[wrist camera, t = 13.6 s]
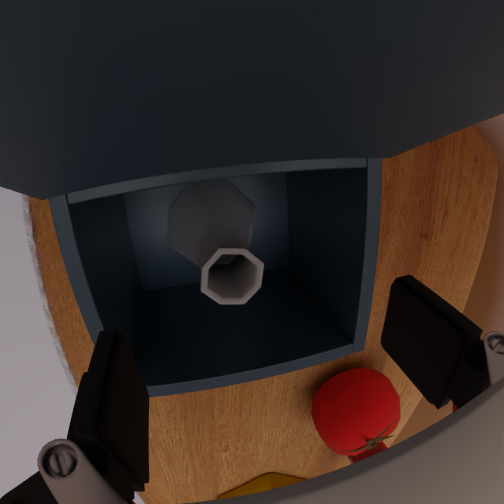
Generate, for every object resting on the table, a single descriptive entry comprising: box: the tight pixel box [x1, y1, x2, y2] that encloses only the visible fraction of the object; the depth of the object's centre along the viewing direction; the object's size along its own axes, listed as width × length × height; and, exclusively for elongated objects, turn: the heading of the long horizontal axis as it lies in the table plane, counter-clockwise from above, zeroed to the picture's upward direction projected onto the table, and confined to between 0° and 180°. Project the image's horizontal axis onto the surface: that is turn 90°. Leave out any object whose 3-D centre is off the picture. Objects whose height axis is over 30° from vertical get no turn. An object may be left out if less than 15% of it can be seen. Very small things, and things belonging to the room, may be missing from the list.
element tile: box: [217, 473, 307, 500], centre depth 44 cm, size 15×15×5 cm
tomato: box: [311, 368, 400, 456], centre depth 32 cm, size 12×12×11 cm
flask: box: [167, 181, 264, 304], centre depth 19 cm, size 7×7×10 cm
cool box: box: [49, 158, 382, 397], centre depth 19 cm, size 12×15×12 cm
